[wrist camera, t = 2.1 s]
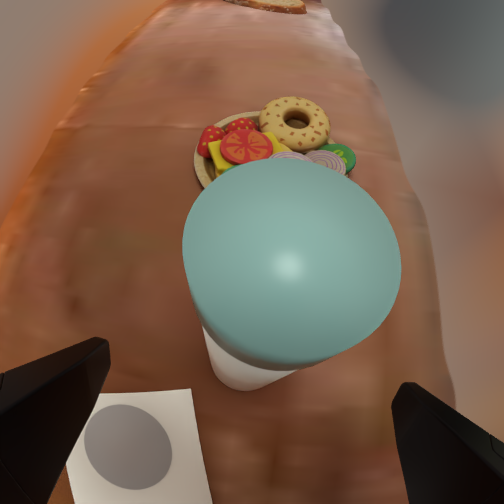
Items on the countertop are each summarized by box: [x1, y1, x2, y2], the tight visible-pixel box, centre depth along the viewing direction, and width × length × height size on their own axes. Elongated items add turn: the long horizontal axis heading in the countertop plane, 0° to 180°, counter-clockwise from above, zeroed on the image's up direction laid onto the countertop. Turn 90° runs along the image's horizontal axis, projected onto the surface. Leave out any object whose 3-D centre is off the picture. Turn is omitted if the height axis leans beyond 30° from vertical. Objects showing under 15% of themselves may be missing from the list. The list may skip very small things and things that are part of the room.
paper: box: [66, 389, 213, 504], centre depth 14 cm, size 11×9×1 cm
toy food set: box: [194, 97, 356, 188], centre depth 25 cm, size 13×13×3 cm
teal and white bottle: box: [183, 158, 401, 391], centre depth 12 cm, size 4×4×14 cm
